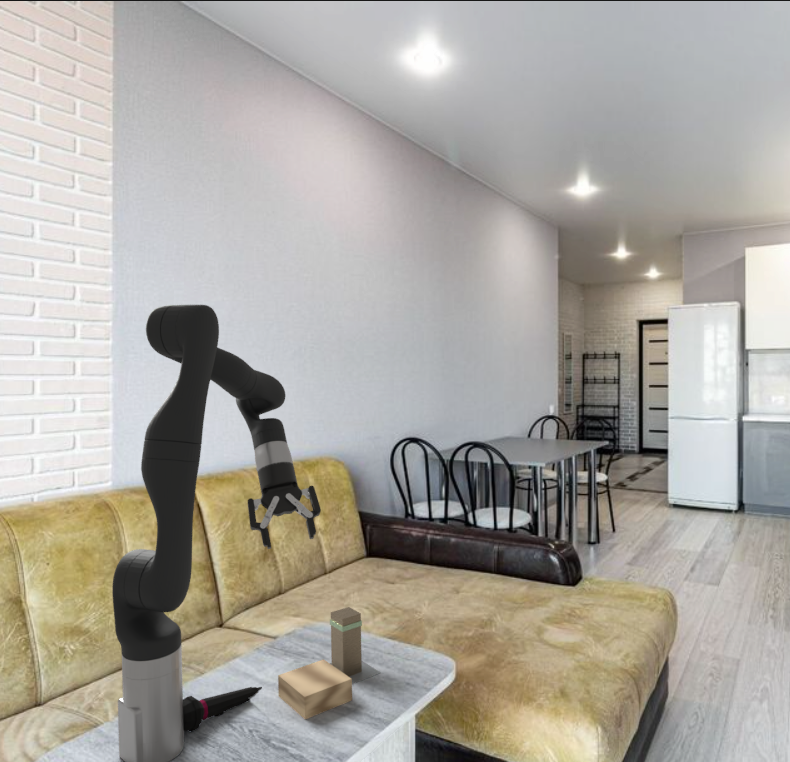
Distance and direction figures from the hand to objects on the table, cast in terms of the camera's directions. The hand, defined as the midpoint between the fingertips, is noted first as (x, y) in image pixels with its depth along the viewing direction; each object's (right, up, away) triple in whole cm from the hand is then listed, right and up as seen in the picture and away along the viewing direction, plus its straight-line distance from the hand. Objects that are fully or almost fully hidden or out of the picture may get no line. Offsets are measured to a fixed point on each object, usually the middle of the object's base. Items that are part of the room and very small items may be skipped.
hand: (291, 543), depth 125 cm
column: (+11, -27, +3) cm, 29 cm away
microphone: (-10, -29, -10) cm, 32 cm away
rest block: (+6, -28, -7) cm, 30 cm away
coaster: (+11, -28, +3) cm, 30 cm away
